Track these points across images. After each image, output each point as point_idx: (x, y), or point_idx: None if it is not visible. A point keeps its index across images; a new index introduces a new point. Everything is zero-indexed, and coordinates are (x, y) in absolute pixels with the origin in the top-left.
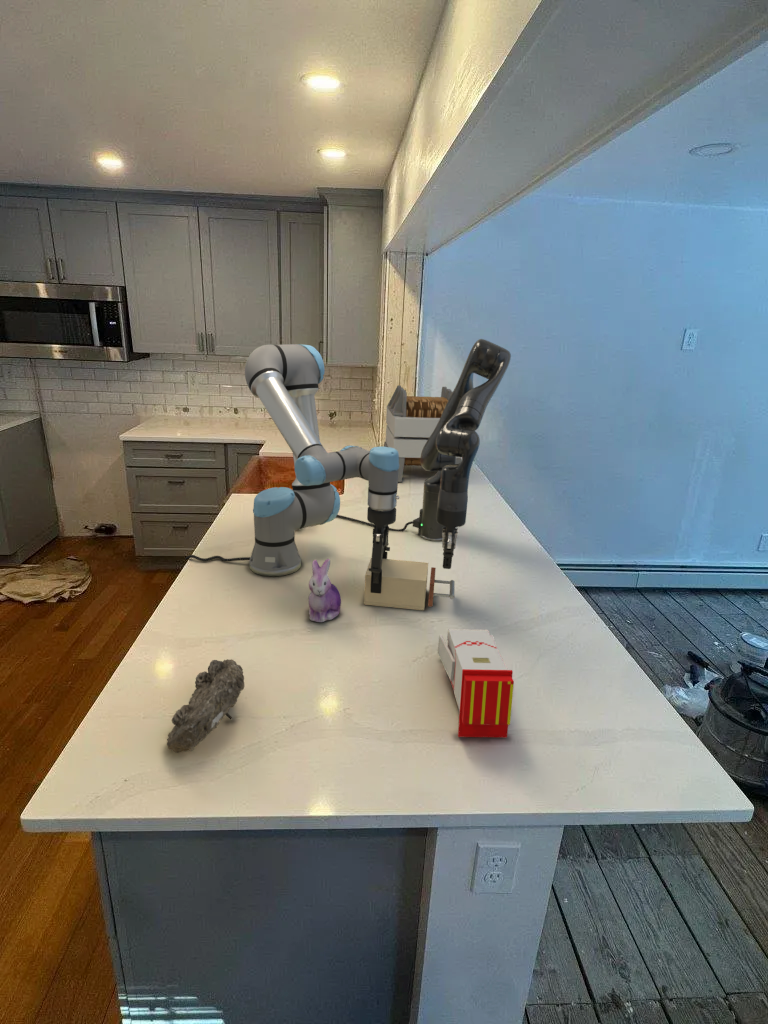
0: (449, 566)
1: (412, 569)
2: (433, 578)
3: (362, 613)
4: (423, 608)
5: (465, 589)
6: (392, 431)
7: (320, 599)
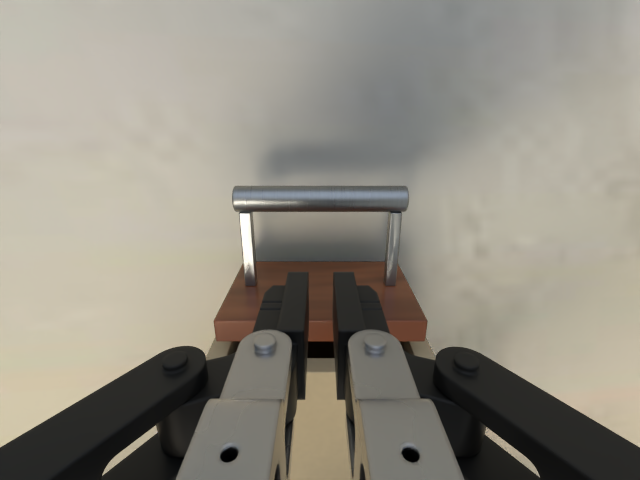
0: (375, 293)
1: (313, 437)
2: None
3: None
4: None
5: (169, 113)
6: None
7: None
